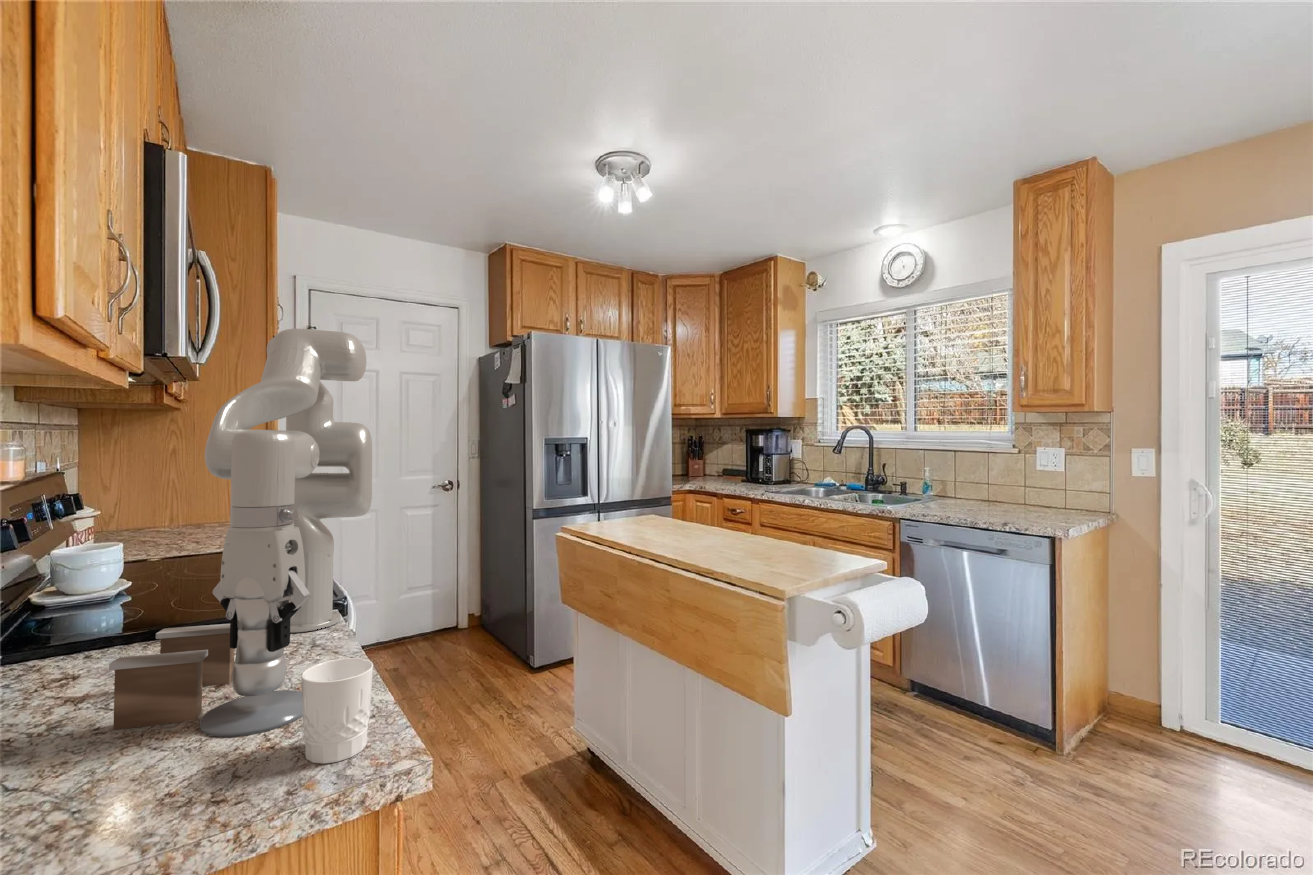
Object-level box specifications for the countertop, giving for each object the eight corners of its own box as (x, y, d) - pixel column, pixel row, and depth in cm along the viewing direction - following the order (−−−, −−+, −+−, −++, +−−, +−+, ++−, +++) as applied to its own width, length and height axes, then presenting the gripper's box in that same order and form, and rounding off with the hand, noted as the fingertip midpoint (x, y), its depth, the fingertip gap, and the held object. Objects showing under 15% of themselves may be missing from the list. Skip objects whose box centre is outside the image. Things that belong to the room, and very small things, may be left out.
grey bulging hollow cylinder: (238, 707, 77) (241, 555, 78) (224, 692, 82) (228, 549, 82) (293, 692, 82) (296, 549, 82) (277, 678, 87) (280, 543, 87)
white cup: (287, 753, 72) (289, 672, 72) (350, 728, 78) (352, 653, 78) (320, 774, 67) (321, 687, 68) (384, 745, 74) (385, 666, 74)
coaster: (220, 700, 86) (220, 696, 86) (320, 689, 90) (320, 685, 90) (182, 743, 74) (182, 739, 74) (300, 728, 78) (300, 723, 78)
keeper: (162, 685, 91) (163, 628, 91) (238, 677, 95) (239, 622, 95) (107, 731, 77) (109, 664, 77) (199, 720, 80) (200, 656, 80)
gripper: (335, 517, 85) (333, 642, 84) (234, 513, 88) (232, 634, 87) (294, 523, 77) (291, 661, 77) (186, 519, 80) (183, 651, 80)
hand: (260, 645), depth 82 cm, fingers closed on grey bulging hollow cylinder, 5 cm apart
